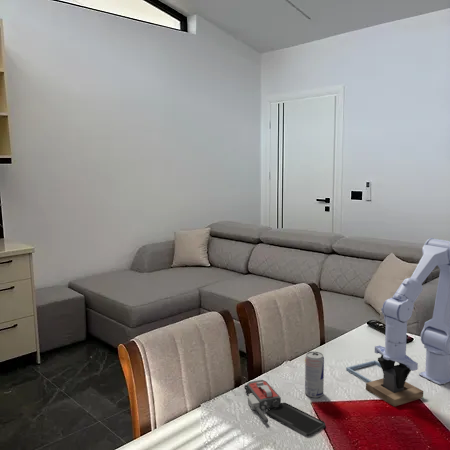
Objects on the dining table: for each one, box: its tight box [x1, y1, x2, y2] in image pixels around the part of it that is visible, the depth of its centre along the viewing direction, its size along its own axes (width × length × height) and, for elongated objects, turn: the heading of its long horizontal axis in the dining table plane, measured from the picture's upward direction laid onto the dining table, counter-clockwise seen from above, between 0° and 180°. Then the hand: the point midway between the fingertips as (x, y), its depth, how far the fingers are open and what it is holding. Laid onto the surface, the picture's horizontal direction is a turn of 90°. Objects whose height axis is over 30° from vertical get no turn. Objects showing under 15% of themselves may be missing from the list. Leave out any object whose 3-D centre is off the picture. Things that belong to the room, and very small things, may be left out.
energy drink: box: [304, 351, 325, 399], centre depth 133 cm, size 5×5×12 cm
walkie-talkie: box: [243, 379, 282, 423], centre depth 127 cm, size 9×4×20 cm
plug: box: [382, 368, 404, 393], centre depth 132 cm, size 4×4×6 cm
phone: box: [265, 402, 326, 438], centre depth 120 cm, size 8×1×15 cm
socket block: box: [365, 377, 424, 407], centre depth 133 cm, size 11×11×2 cm
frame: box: [345, 359, 382, 383], centre depth 146 cm, size 12×12×1 cm
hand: (394, 384), depth 133 cm, fingers closed on plug, 4 cm apart
